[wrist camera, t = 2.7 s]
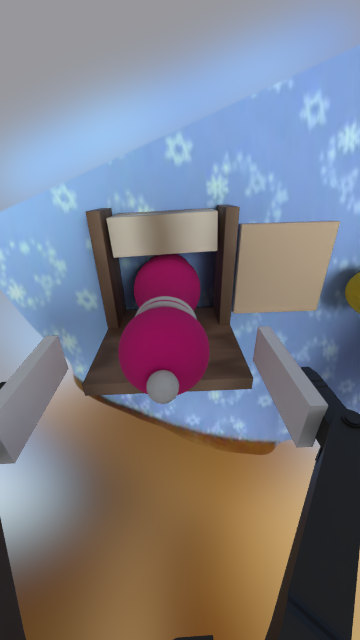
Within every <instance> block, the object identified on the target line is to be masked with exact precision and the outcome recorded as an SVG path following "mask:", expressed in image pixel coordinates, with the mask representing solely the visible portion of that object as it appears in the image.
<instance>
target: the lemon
mask: <svg viewBox="0 0 360 640" xmlns="http://www.w3.org/2000/svg"><path fill="white" fill-rule="evenodd" d="M345 297H346V300H347V302H348V304H349V305H350V306H351V307H352V308H353V309H354V310H355V311H356V312H358V313H360V272H359V273H357V274H356V275H354V276H353V277H352V278H351V279H350V280H349V282H348V283H347V286H346V289H345Z"/></svg>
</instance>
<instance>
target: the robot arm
mask: <svg viewBox="0 0 360 640" xmlns="http://www.w3.org/2000/svg"><path fill="white" fill-rule="evenodd" d="M253 361H254V363H255V365H256V367H257V369H258V371H259V373H260V375H261V377H262V379H263V381H264V383H265V385H266V387H267V389H268V391H269V393H270V395H271V397H272V399H273V401H274V403H275V405H276V407H277V409H278V411H279V413H280V415H281V417H282V419H283V421H284V423H285V425H286V427H287V429H288V431H289V433H290V435H291V437H292V439H293V441H294V443H295V445H296V447H312V446H313V444H314V442H315V439H317V441H318V443H319V444H320V446H321V447H320V449H319V452H318V454H317V456H316V459H315V460H316V463H315V466H314V470H313V474H312V477H311V481H310V484H309V488H308V491H307V495H306V498H305V502H304V506H303V509H302V513H301V517H300V520H299V524H298V527H297V531H296V534H295V538H294V542H293V545H292V549H291V552H290V556H289V559H288V563H287V566H286V570H285V574H284V577H283V581H282V585H281V588H280V591H279V595H278V599H277V603H276V606H275V609H274V613H273V616H272V620H271V623H270V626H269V629H268V632H267V635H266V638H265V640H351V637H352V626H353V614H354V604H355V593H356V583H357V582H356V581H357V572H358V561H359V550H360V414H358V413H357V412H355V411H352V410H349V409H346V407H345V406H344V405H343V404H342V403H341V401H340V400H339V399H338V398H337V396H336V395H335V394H334V393H333V392H332V390H331V389H330V388H329V387H328V385H327V384H326V383H325V382H324V381H323V379H322V378H321V377H320V376H319V374H318V373H317V372H315V371H314V370H312V369H311V368H309V367H299V365H298V364H297V363H296V361H295V360H294V358H293V357H292V356H291V354H290V353H289V352H288V350H287V349H286V348H285V346H284V345H283V344H282V342H281V341H280V340H279V338H278V337H277V336H276V334H275V333H274V332H273V330H272V329H271V328H270V326H265V327H258V331H257V337H256V344H255V350H254V357H253ZM67 370H68V366H67V363H66V360H65V357H64V353H63V350H62V347H61V344H60V341H59V338H58V335H56V336H45V337H44V339H43V340H42V341H41V342H40V343H39V345H38V346H37V347H36V348H35V349H34V350H33V352H32V353H31V354H30V355H29V356H28V358H27V359H26V360H25V361H24V362H23V363H22V365H21V366H20V367H19V368H18V369H17V370H16V372H15V373H14V374H13V375H12V376H11V378H10V379H9V380H8V381H7V382H1V383H0V464H7V463H15V462H16V460H17V458H18V457H19V455H20V453H21V451H22V449H23V448H24V446H25V444H26V442H27V441H28V439H29V437H30V435H31V434H32V432H33V430H34V428H35V426H36V425H37V423H38V421H39V419H40V418H41V416H42V414H43V412H44V411H45V409H46V407H47V405H48V404H49V402H50V400H51V398H52V396H53V395H54V393H55V391H56V389H57V387H58V386H59V384H60V382H61V381H62V379H63V377H64V375H65V374H66V372H67ZM0 640H26V638H25V634H24V630H23V625H22V620H21V615H20V611H19V605H18V601H17V596H16V591H15V586H14V581H13V577H12V572H11V567H10V562H9V557H8V553H7V548H6V543H5V538H4V533H3V529H2V524H1V519H0ZM174 640H213V635H208V636H194V637H181V638H176V639H174Z"/></svg>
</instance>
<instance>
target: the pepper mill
mask: <svg viewBox="0 0 360 640" xmlns="http://www.w3.org/2000/svg"><path fill="white" fill-rule="evenodd" d="M200 291H201V290H200V281H199V277H198V275H197V273H196V271H195V270H194V268H193V267H192V266H191V265H190V264H189V263H188V262H187V261H186V259H184V258H183V257H182V256H180V255H178V254H161V255H155V256H154V257H152V258H151V259H150V260H149V261H148V262H147V263H145V264H144V265H143V266H142V267H141V269H140V270H139V272H138V273H137V276H136V279H135V283H134V296H135V300H136V303H137V305H138V307H139V310H138V311H137V313H136V315H135V317H134V318H133V319H132V320H131V321H130V322H129V323H128V325H127V326H126V327H125V329H124V331H123V333H122V335H121V338H120V342H119V348H118V357H119V362H120V366H121V369H122V371H123V373H124V375H125V377H126V379H127V380H128V381H129V382H130V383H131V385H133V386H134V387H136V388H137V389H138V390H140V391H141V392H144V393H146V394H148V395H149V397H150V398H151V399H152V400H153V401H155V402H157V403H160V404H165V403H169V402H171V401H172V400H173V399H175V397H176V396H177V395H179V394H182V393H184V392H186V391H188V390H189V389H191V388H192V387H194V386H195V385H196V384H197V383H198V382H199V381H200V379H201V378H202V377H203V375H204V373H205V371H206V368H207V366H208V362H209V356H210V348H209V341H208V337H207V335H206V332H205V330H204V328H203V327H202V325H201V324H200V322H199V321H198V320H197V318H196V315H195V313H194V310H195V308H196V306H197V304H198V301H199V299H200Z"/></svg>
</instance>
